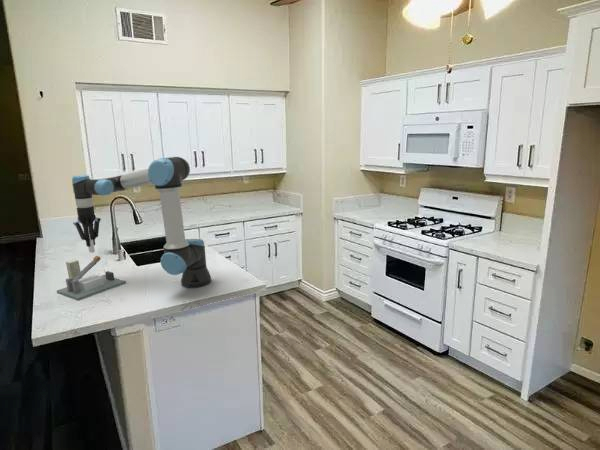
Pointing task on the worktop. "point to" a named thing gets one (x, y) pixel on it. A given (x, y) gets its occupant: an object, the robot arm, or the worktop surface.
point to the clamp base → (93, 291)
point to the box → (73, 268)
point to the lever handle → (87, 268)
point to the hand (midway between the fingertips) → (92, 252)
